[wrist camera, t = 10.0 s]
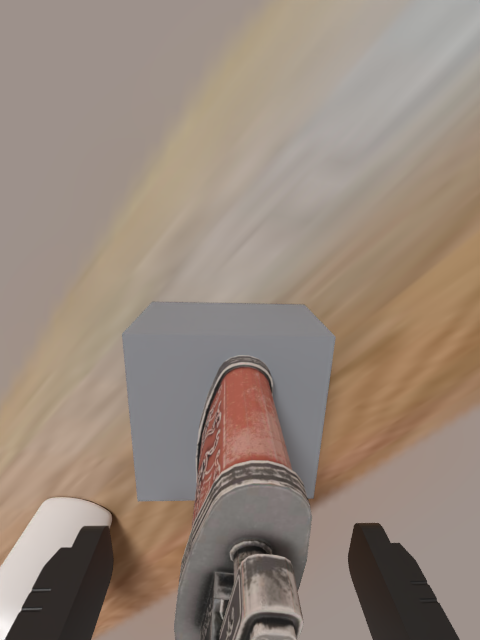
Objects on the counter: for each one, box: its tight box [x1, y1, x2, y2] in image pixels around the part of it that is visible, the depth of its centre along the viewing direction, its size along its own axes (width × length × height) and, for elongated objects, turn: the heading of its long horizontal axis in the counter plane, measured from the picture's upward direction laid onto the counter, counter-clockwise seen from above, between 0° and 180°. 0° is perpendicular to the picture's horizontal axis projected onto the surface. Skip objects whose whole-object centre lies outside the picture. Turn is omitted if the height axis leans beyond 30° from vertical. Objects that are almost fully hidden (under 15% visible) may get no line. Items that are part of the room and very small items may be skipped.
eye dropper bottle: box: [0, 497, 112, 640], centre depth 19 cm, size 4×6×12 cm
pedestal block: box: [122, 302, 335, 501], centre depth 18 cm, size 10×10×6 cm
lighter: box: [174, 355, 312, 640], centre depth 11 cm, size 8×3×10 cm, turn 168°
